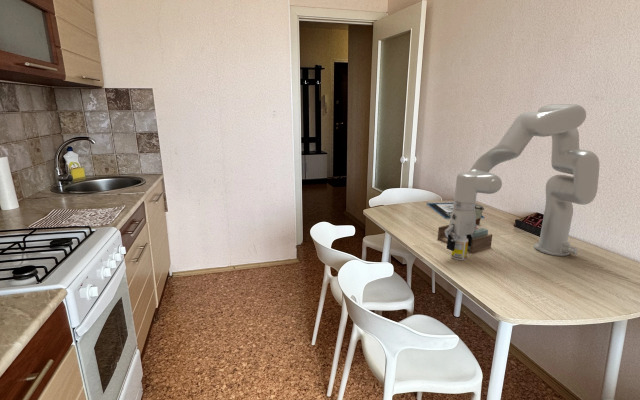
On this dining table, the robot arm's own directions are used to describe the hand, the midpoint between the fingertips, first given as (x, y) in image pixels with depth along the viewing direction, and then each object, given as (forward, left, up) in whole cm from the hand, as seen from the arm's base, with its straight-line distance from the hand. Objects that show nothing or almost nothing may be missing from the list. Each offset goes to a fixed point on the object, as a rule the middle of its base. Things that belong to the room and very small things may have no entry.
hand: (458, 247), depth 137 cm
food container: (+27, -40, -5) cm, 49 cm away
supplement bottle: (0, 0, -5) cm, 5 cm away
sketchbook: (+46, -52, -5) cm, 70 cm away
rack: (+9, -14, -4) cm, 17 cm away
